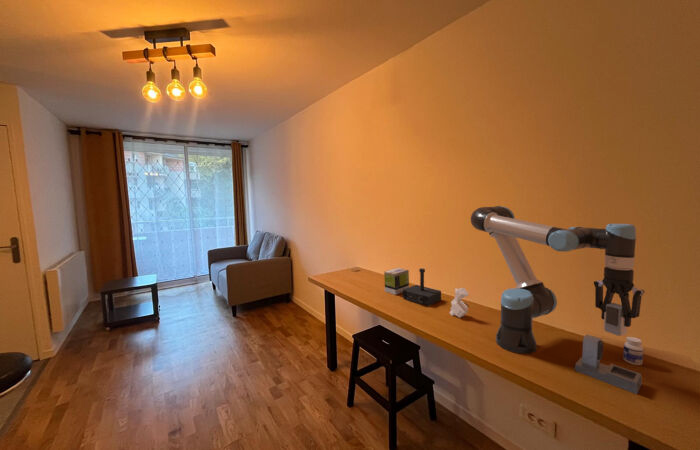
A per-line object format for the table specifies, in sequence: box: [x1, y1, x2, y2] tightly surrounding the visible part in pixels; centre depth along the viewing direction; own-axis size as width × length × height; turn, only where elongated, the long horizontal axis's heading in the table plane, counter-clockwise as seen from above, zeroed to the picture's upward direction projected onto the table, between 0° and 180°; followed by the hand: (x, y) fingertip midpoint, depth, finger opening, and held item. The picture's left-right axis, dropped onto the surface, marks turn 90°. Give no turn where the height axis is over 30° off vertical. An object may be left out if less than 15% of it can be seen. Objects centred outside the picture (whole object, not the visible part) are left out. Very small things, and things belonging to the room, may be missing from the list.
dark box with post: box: [402, 268, 442, 307], centre depth 176 cm, size 19×17×20 cm
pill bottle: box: [622, 336, 644, 366], centre depth 106 cm, size 5×5×9 cm
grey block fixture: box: [574, 334, 643, 395], centre depth 97 cm, size 16×8×12 cm, turn 36°
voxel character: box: [448, 287, 470, 319], centre depth 151 cm, size 7×12×15 cm
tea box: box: [383, 267, 410, 296], centre depth 195 cm, size 15×10×15 cm
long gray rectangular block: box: [604, 302, 624, 337], centre depth 100 cm, size 5×4×10 cm
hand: (615, 331), depth 100 cm, fingers closed on long gray rectangular block, 4 cm apart
